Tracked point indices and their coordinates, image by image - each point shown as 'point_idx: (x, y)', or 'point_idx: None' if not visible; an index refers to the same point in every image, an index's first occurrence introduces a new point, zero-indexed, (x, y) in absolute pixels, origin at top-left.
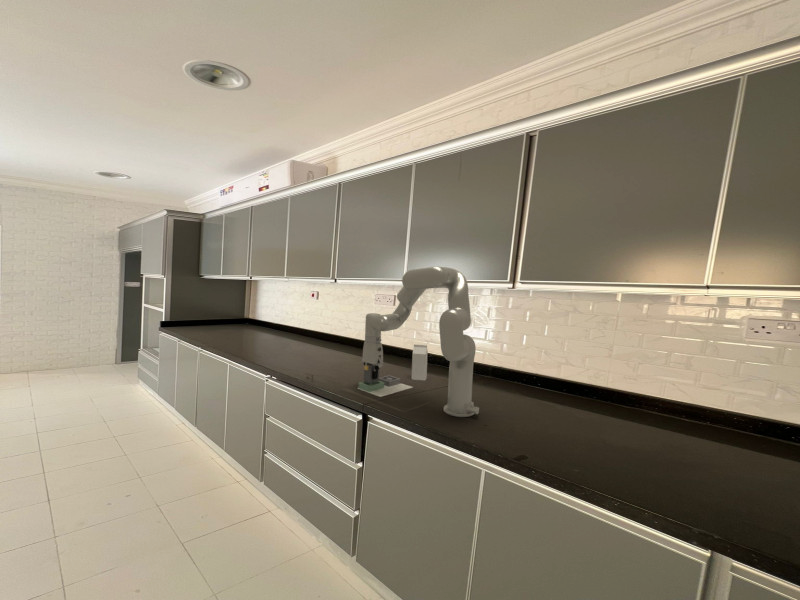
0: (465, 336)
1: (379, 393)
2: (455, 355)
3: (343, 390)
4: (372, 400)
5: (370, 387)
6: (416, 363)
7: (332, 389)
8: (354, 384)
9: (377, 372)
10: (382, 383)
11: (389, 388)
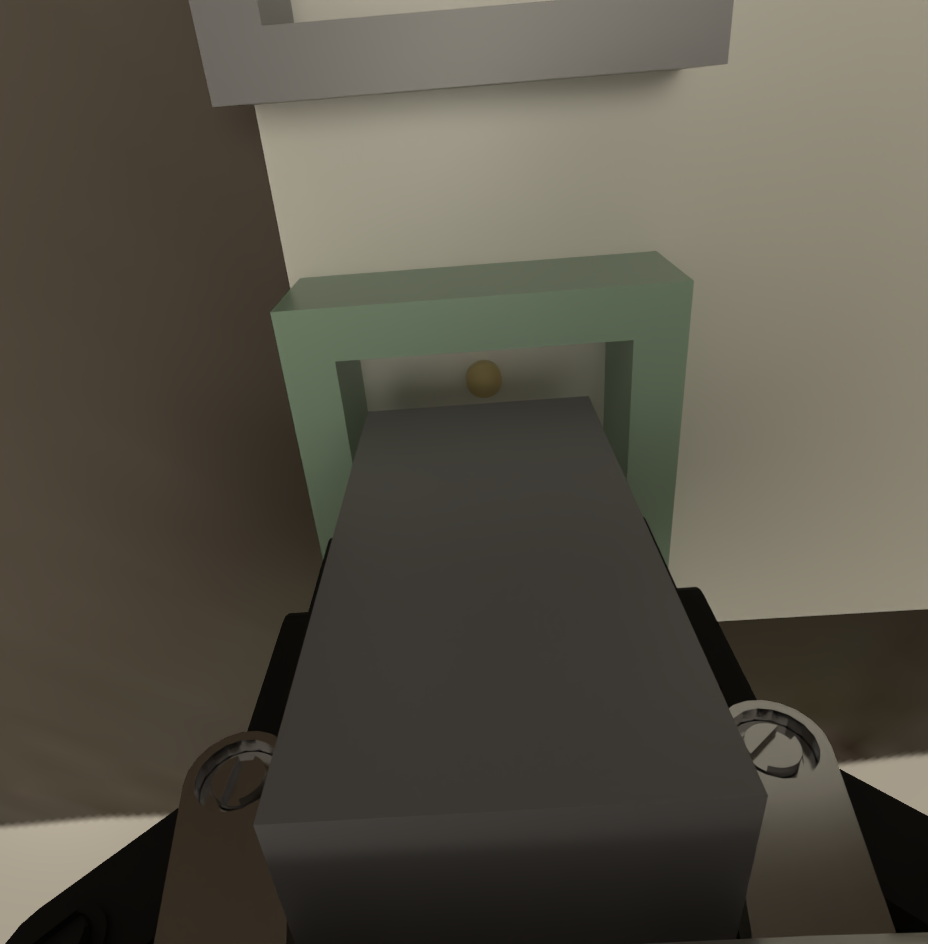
0: None
1: (819, 531)
2: None
3: (247, 722)
4: (834, 665)
5: None
6: None
7: (140, 788)
8: (9, 469)
9: (746, 688)
10: (684, 339)
11: (780, 173)
